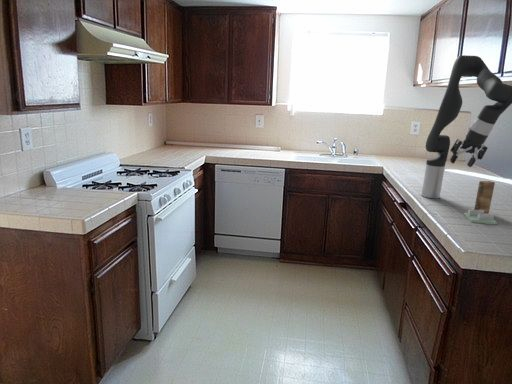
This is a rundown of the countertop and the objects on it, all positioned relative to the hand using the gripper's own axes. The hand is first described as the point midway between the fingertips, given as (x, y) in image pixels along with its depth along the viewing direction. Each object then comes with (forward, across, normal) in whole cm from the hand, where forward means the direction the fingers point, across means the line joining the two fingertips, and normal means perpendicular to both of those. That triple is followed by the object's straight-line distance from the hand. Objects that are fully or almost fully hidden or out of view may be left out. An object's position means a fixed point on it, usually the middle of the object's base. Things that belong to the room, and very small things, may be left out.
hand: (460, 164), depth 175 cm
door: (+22, -24, 0) cm, 32 cm away
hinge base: (+20, -15, +10) cm, 27 cm away
